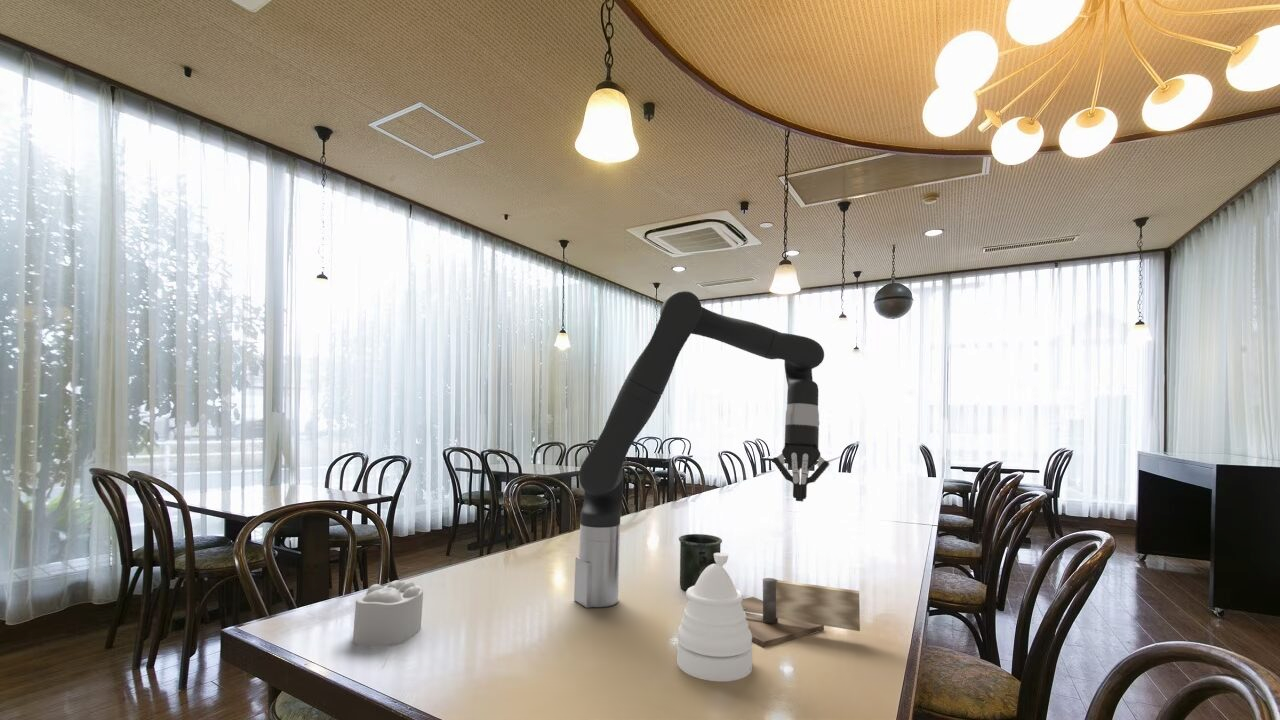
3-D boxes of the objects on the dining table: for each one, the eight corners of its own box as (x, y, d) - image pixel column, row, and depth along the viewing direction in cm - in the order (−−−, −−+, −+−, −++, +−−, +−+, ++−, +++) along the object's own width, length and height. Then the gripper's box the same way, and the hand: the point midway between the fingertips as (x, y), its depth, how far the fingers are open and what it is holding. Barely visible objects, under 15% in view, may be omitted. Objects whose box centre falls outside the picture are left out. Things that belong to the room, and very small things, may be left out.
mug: (718, 582, 143) (719, 534, 144) (726, 600, 129) (727, 547, 130) (676, 580, 143) (677, 533, 145) (680, 599, 129) (681, 546, 130)
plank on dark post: (715, 614, 116) (716, 574, 117) (719, 609, 119) (719, 571, 119) (859, 638, 105) (859, 594, 106) (860, 632, 108) (859, 589, 108)
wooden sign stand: (763, 647, 103) (763, 640, 103) (695, 613, 119) (696, 608, 120) (823, 630, 112) (823, 624, 112) (753, 601, 129) (753, 596, 129)
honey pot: (702, 642, 105) (703, 544, 106) (765, 662, 96) (765, 556, 98) (662, 665, 95) (664, 556, 96) (728, 689, 87) (728, 570, 88)
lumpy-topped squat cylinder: (344, 643, 100) (348, 594, 101) (384, 618, 113) (387, 574, 114) (398, 647, 99) (401, 597, 100) (433, 621, 112) (435, 577, 113)
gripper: (770, 421, 128) (767, 498, 125) (830, 424, 123) (828, 504, 120) (776, 425, 135) (773, 498, 132) (833, 427, 130) (831, 503, 126)
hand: (799, 501), depth 126 cm, fingers closed
